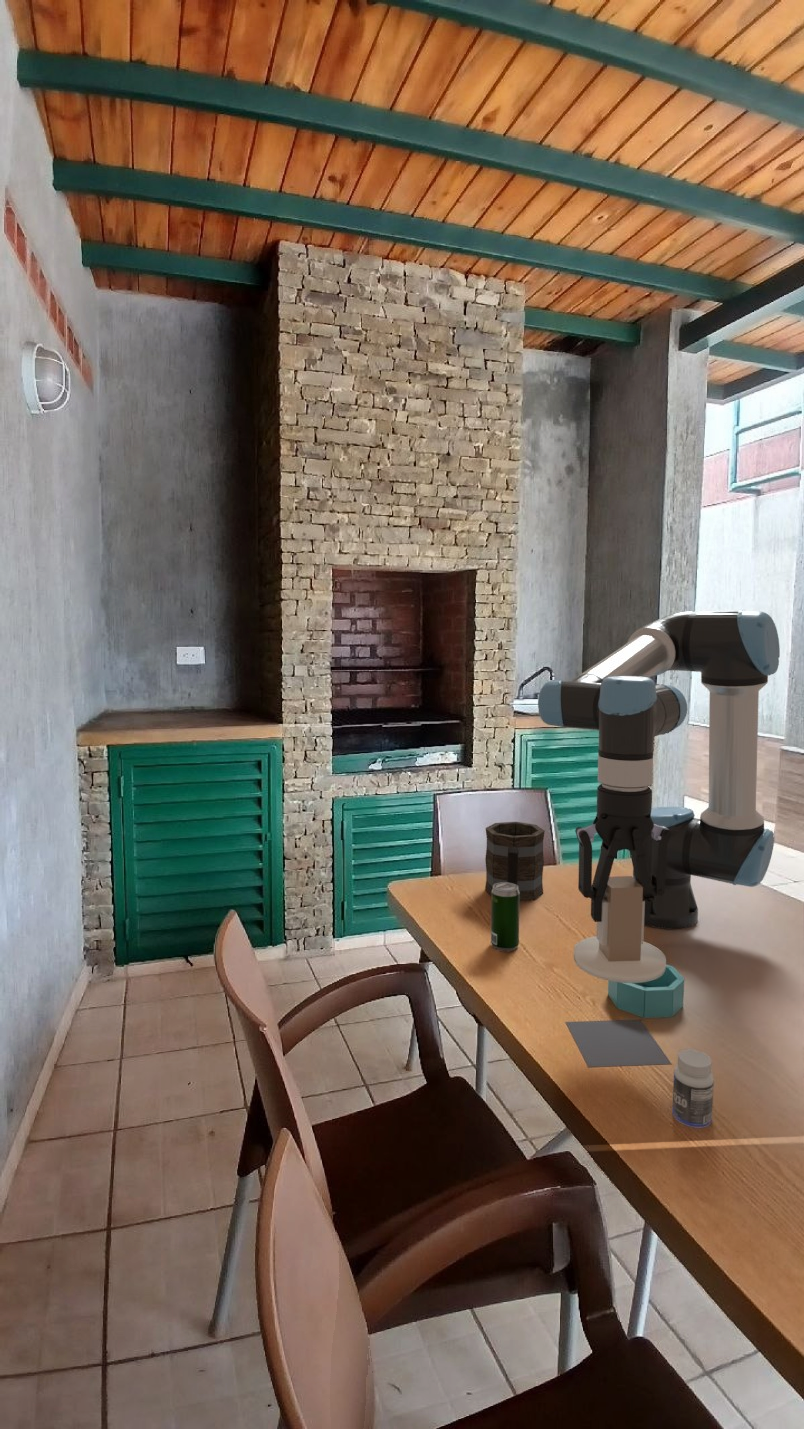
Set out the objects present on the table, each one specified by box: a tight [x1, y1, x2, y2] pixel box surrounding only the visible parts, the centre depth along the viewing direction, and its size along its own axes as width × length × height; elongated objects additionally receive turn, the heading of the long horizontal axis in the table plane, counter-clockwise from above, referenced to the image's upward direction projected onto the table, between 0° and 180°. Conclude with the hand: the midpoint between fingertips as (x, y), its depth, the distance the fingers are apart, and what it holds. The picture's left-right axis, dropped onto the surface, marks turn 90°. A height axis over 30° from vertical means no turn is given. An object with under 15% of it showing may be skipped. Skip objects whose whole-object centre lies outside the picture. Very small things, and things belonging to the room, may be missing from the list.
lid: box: [573, 875, 667, 983], centre depth 110 cm, size 13×13×12 cm
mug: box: [484, 821, 546, 903], centre depth 172 cm, size 20×14×15 cm
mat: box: [565, 1018, 673, 1068], centre depth 113 cm, size 12×12×1 cm
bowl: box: [607, 964, 685, 1019], centre depth 125 cm, size 11×11×5 cm
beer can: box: [490, 882, 520, 952], centre depth 146 cm, size 5×5×12 cm
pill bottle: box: [671, 1048, 715, 1129], centre depth 95 cm, size 5×5×8 cm
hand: (619, 940), depth 111 cm, fingers closed on lid, 5 cm apart
